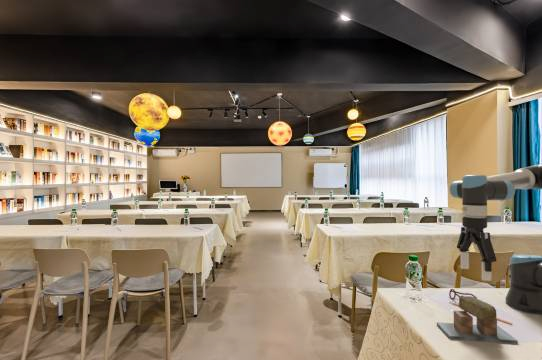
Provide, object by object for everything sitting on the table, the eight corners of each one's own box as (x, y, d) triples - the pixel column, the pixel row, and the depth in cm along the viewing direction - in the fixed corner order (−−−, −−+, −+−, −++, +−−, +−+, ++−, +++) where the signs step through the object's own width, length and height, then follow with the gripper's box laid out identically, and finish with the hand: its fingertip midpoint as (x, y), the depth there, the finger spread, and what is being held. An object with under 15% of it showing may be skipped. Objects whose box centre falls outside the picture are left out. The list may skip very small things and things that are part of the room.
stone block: (483, 322, 98) (483, 308, 98) (457, 308, 110) (456, 295, 110) (498, 321, 99) (498, 307, 99) (470, 307, 111) (469, 294, 111)
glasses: (448, 297, 139) (448, 287, 139) (476, 298, 138) (476, 288, 138) (464, 309, 126) (464, 298, 126) (495, 310, 125) (495, 299, 125)
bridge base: (498, 328, 108) (498, 310, 108) (517, 343, 98) (517, 323, 98) (436, 324, 111) (436, 306, 111) (449, 338, 101) (449, 318, 101)
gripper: (447, 213, 118) (447, 264, 118) (484, 220, 93) (485, 285, 93) (466, 213, 117) (466, 264, 117) (509, 221, 92) (510, 286, 92)
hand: (474, 274), depth 105 cm, fingers open, 13 cm apart
